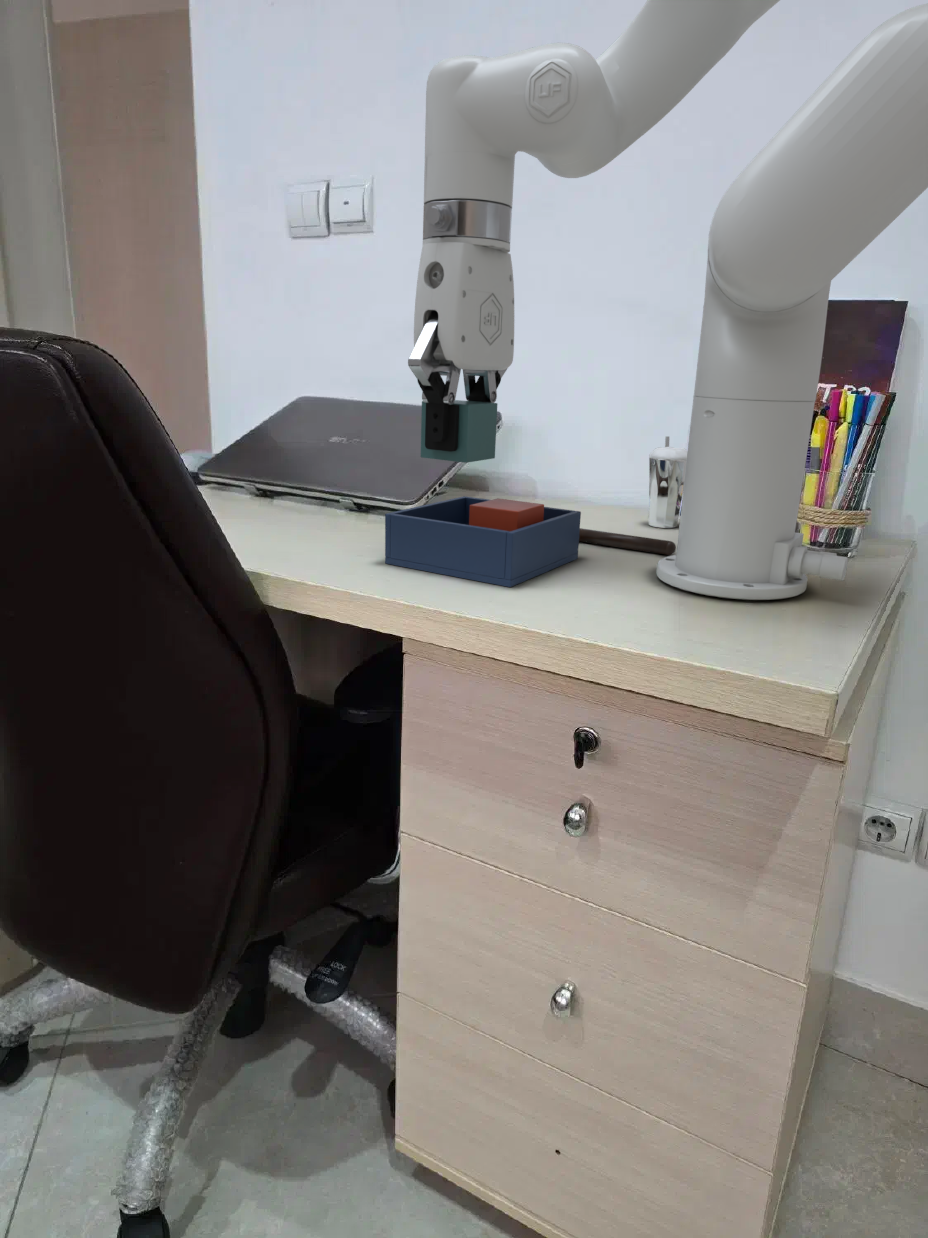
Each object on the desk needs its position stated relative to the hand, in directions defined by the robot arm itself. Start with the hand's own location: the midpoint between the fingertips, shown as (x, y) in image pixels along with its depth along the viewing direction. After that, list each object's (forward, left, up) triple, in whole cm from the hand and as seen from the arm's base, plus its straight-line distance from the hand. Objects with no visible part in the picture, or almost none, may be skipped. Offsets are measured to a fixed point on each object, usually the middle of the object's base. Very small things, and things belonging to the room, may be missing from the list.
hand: (458, 445), depth 76 cm
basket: (-3, 0, -10) cm, 11 cm away
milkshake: (-10, -29, -11) cm, 33 cm away
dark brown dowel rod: (-3, -14, -10) cm, 18 cm away
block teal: (0, 0, -1) cm, 1 cm away
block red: (-5, 0, -10) cm, 11 cm away
